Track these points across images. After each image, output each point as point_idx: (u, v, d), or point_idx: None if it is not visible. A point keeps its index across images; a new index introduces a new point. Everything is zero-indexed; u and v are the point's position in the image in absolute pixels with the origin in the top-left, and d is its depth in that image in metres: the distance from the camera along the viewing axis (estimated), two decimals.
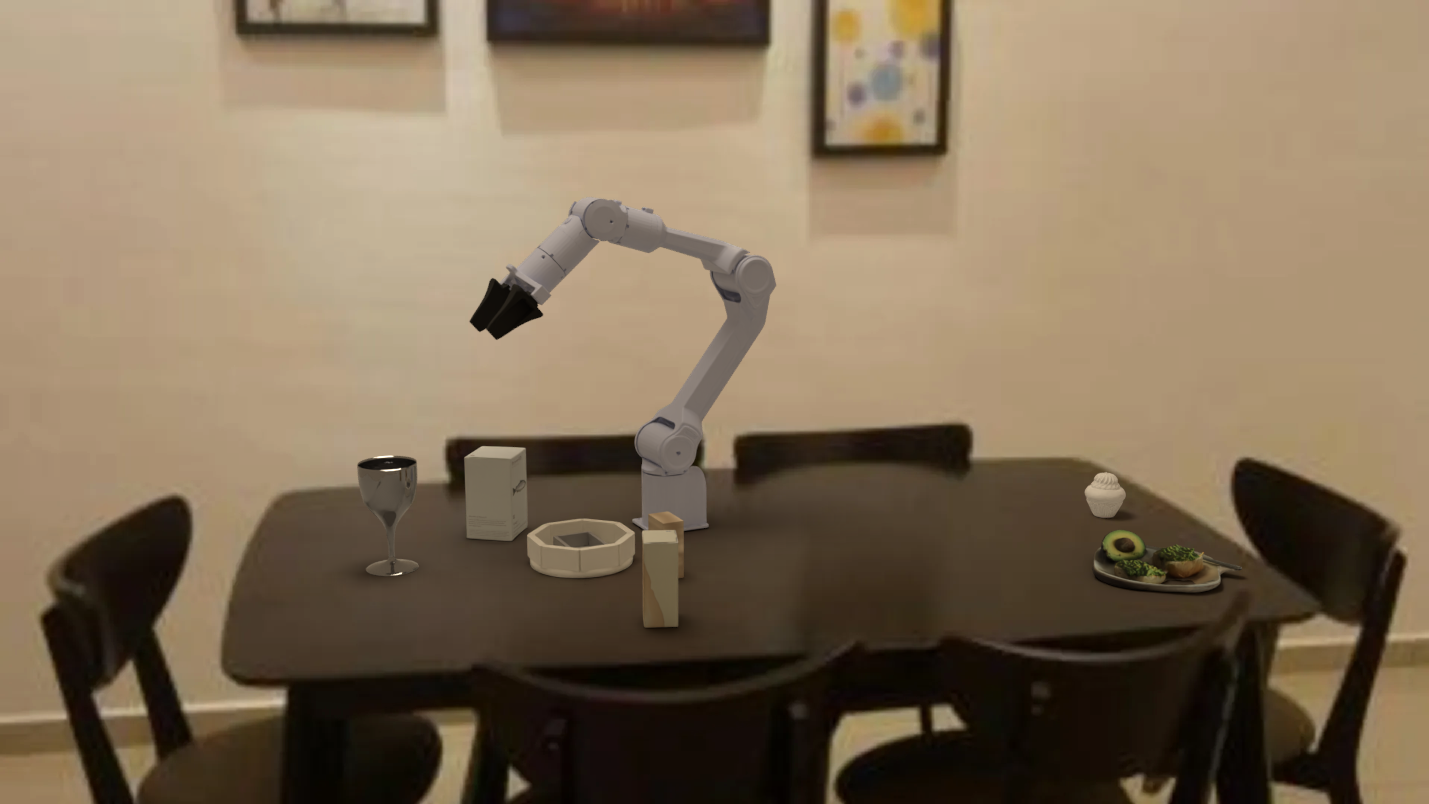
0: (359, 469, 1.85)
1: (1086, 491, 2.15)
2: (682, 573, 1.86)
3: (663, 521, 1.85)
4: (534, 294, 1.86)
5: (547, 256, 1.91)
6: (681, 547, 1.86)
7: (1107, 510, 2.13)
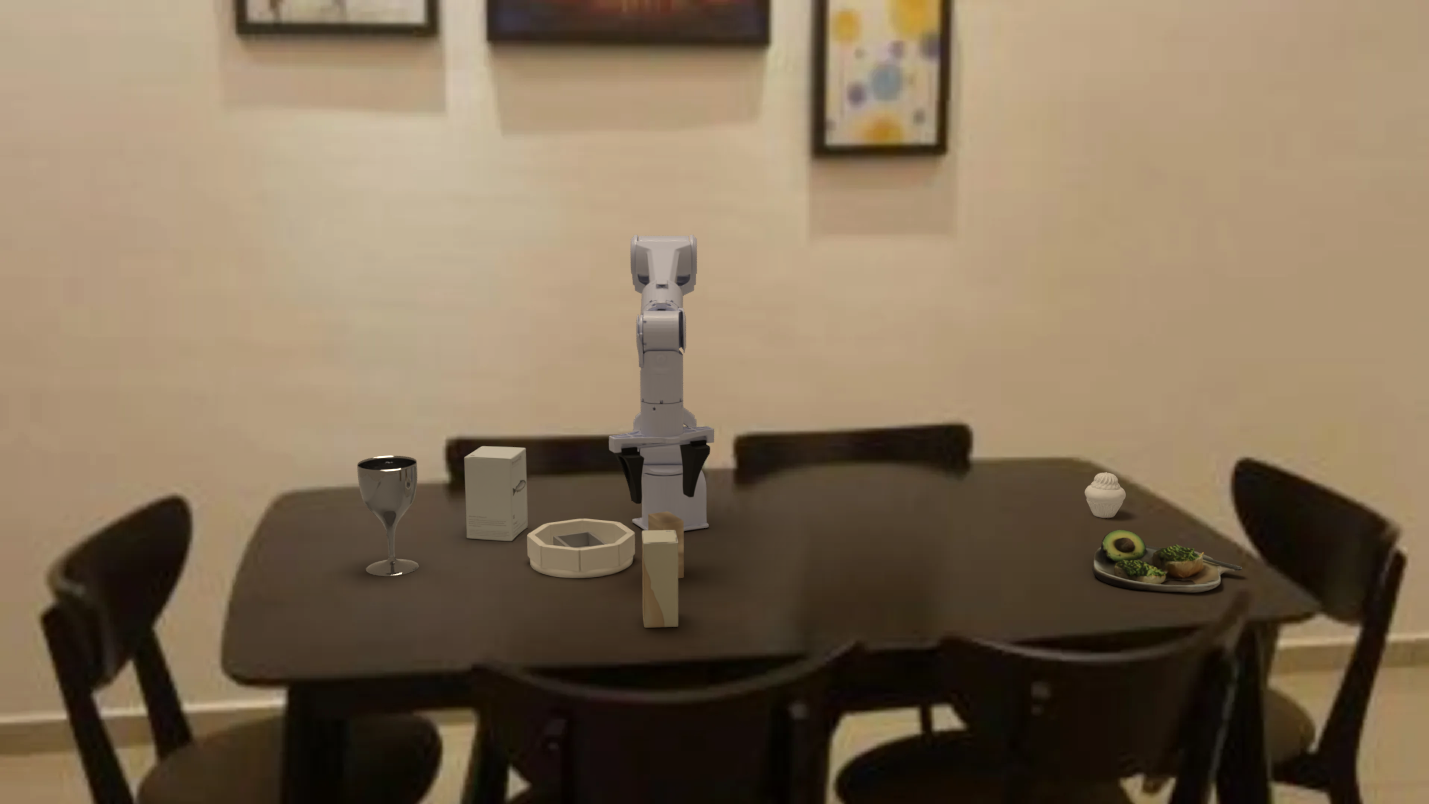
0: (359, 469, 1.85)
1: (1086, 491, 2.15)
2: (682, 573, 1.86)
3: (663, 521, 1.85)
4: (713, 440, 1.87)
5: (682, 402, 1.83)
6: (681, 547, 1.86)
7: (1107, 510, 2.13)
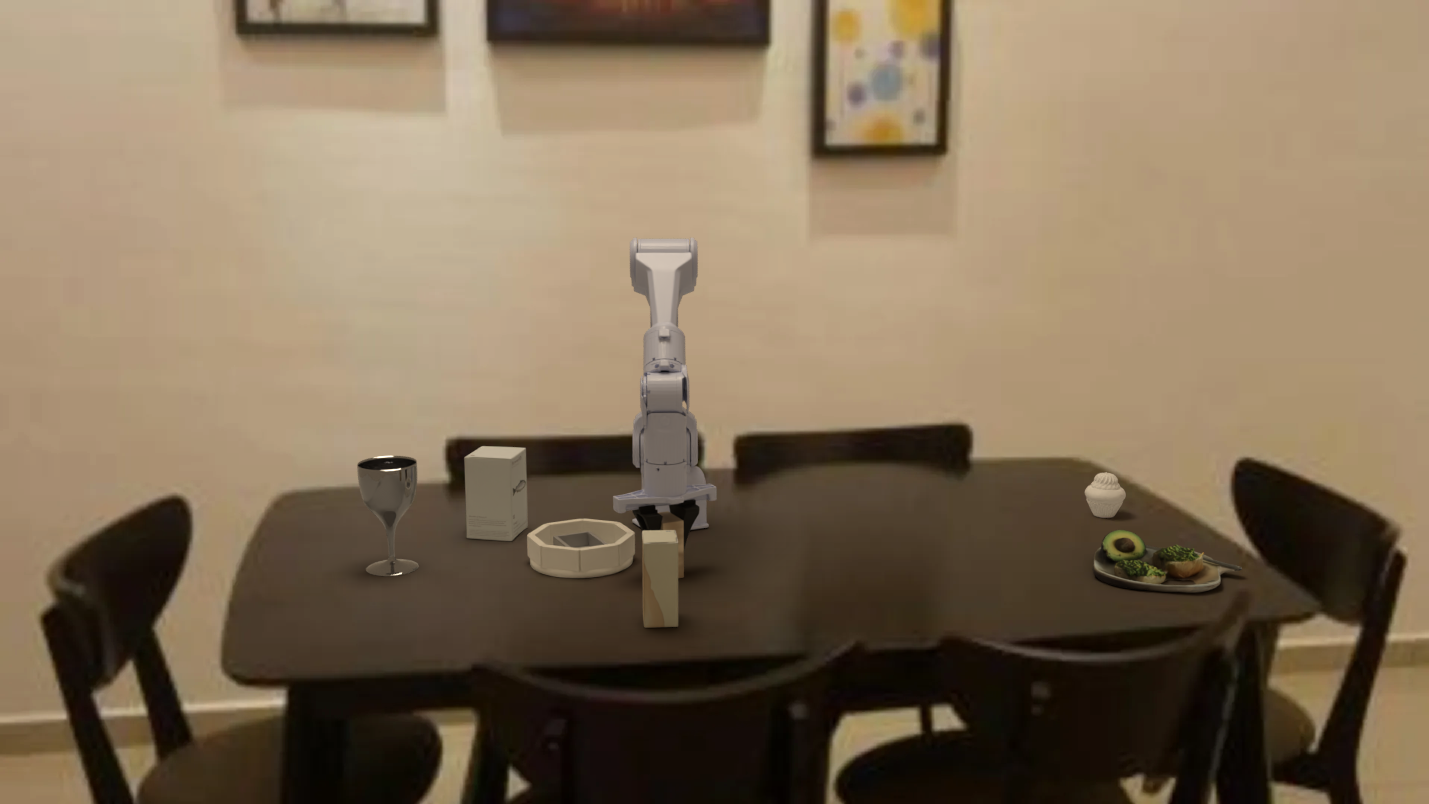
0: (359, 469, 1.85)
1: (1086, 491, 2.15)
2: (682, 573, 1.86)
3: (663, 521, 1.85)
4: None
5: (685, 462, 1.84)
6: (681, 547, 1.86)
7: (1107, 510, 2.13)
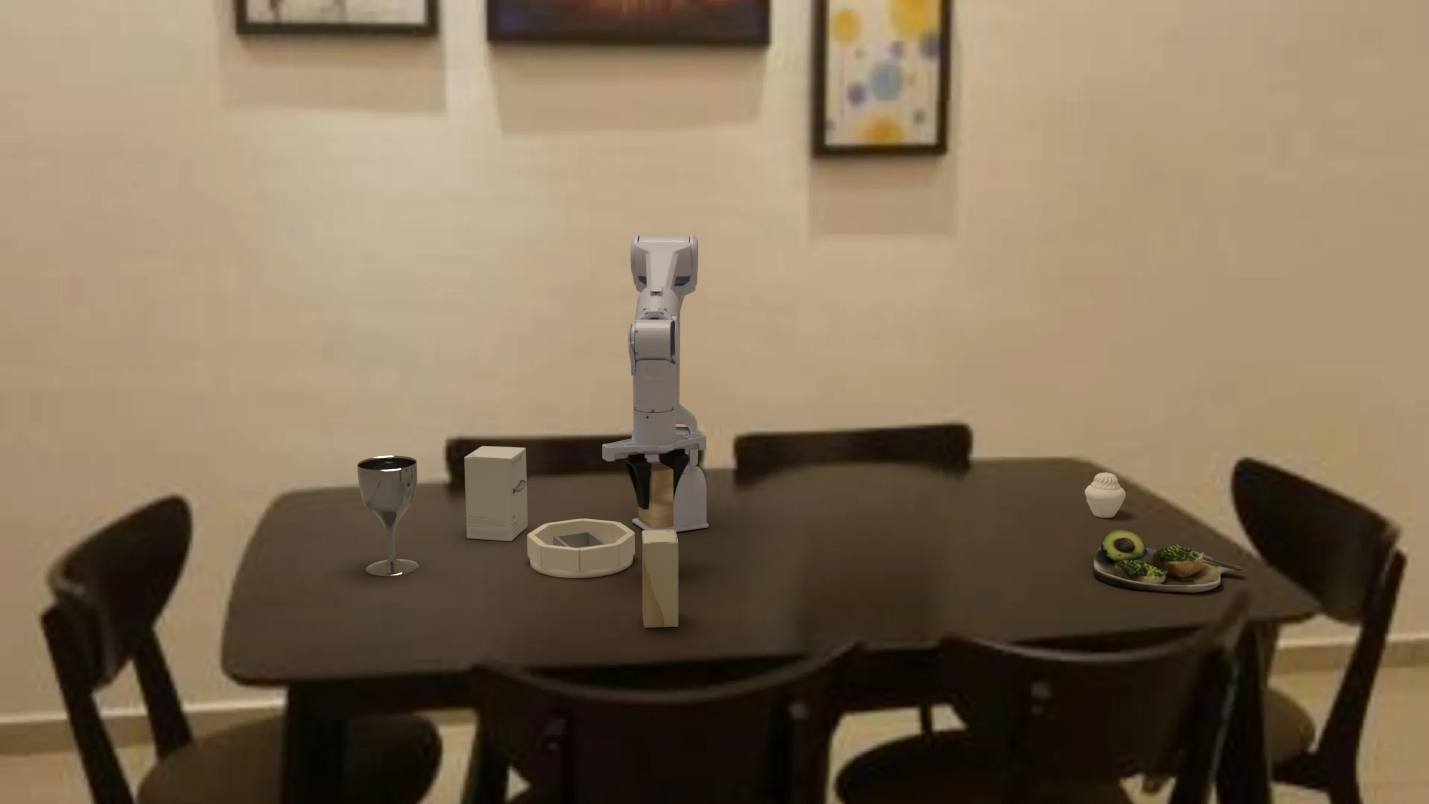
0: (359, 469, 1.85)
1: (1086, 491, 2.15)
2: (671, 522, 1.86)
3: (652, 470, 1.84)
4: (705, 447, 1.88)
5: (675, 410, 1.84)
6: (671, 496, 1.85)
7: (1107, 510, 2.13)
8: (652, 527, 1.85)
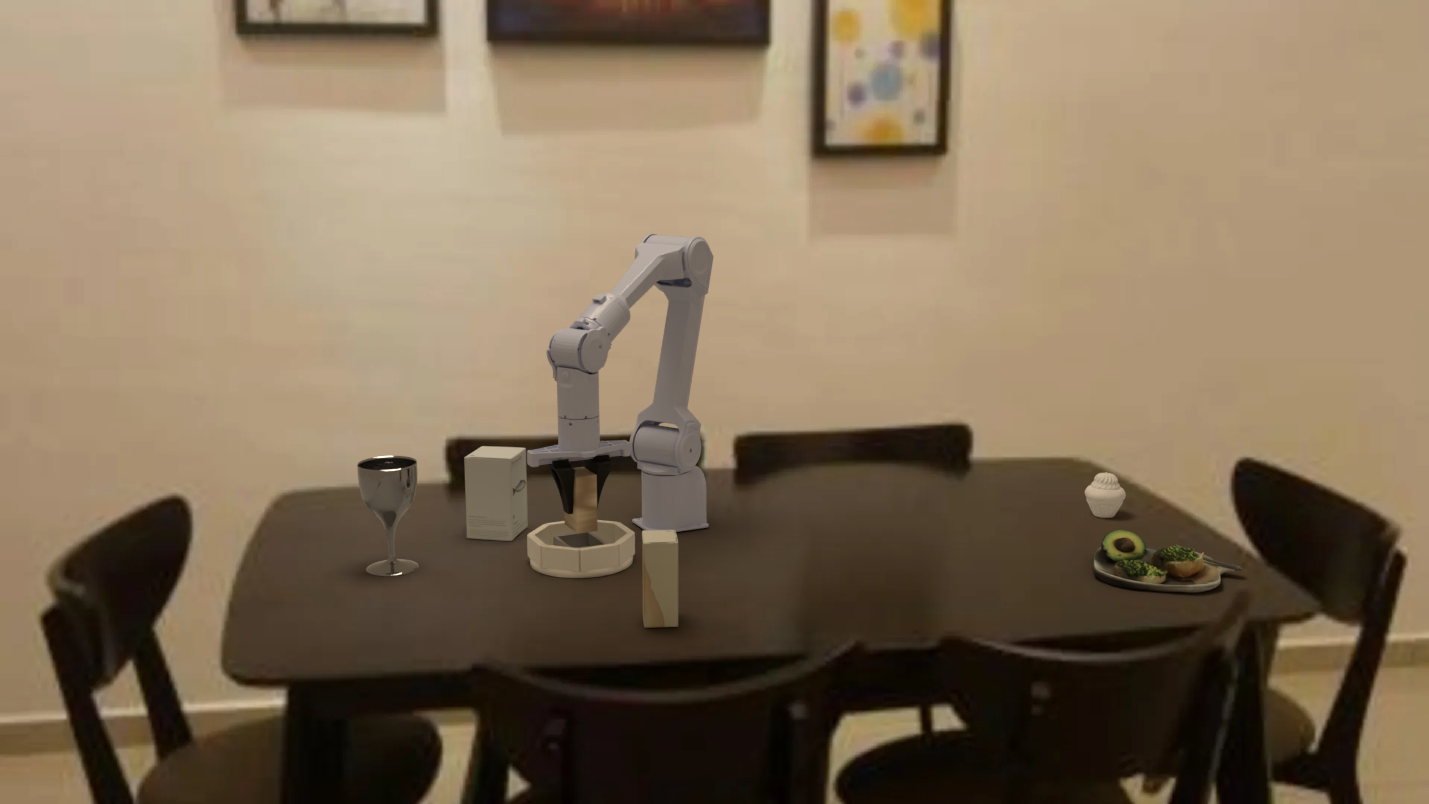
0: (359, 469, 1.85)
1: (1086, 491, 2.15)
2: (595, 526, 1.90)
3: (576, 475, 1.89)
4: (629, 453, 1.93)
5: (598, 417, 1.88)
6: (594, 501, 1.90)
7: (1107, 510, 2.13)
8: (576, 531, 1.89)
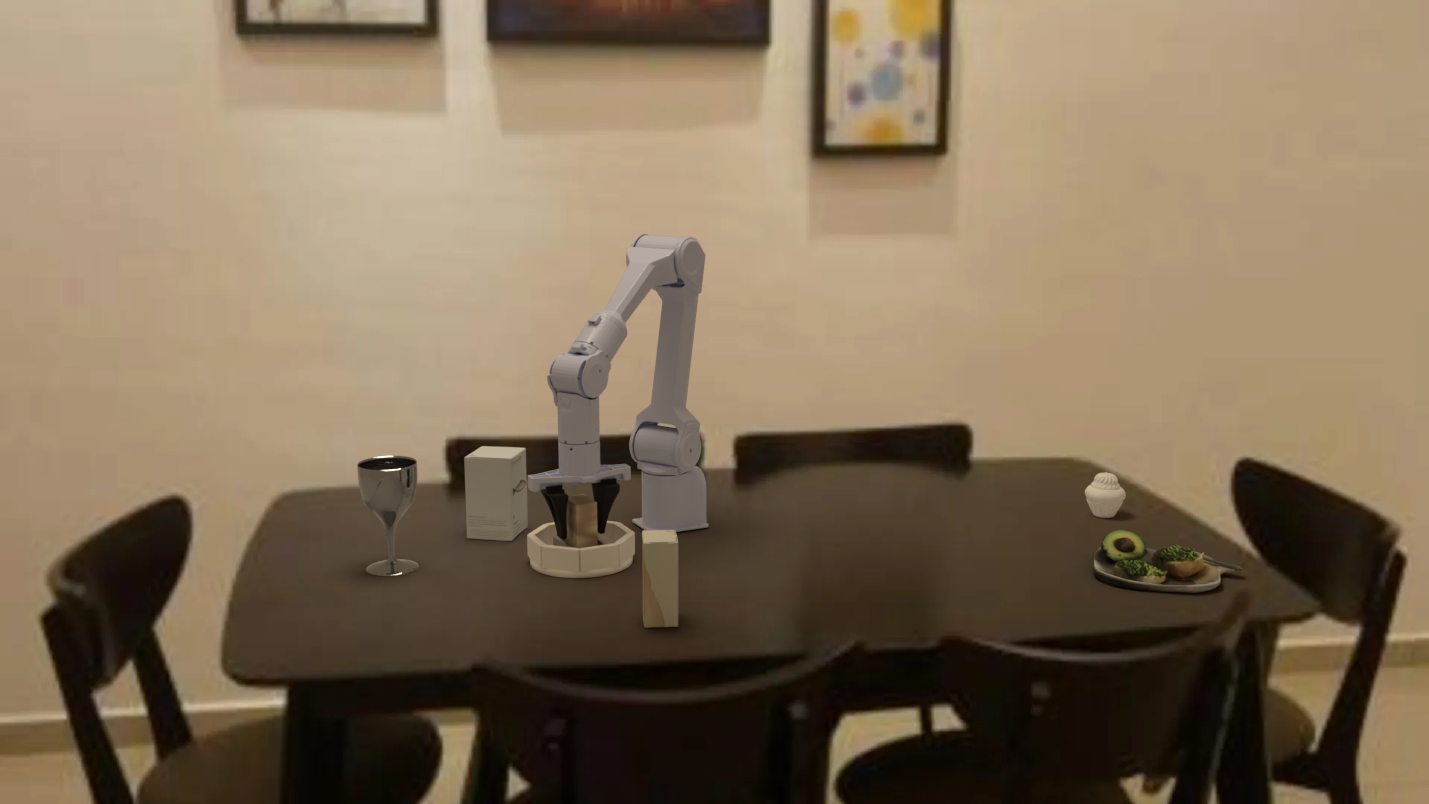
0: (359, 469, 1.85)
1: (1086, 491, 2.15)
2: None
3: (577, 503, 1.89)
4: (630, 477, 1.93)
5: (599, 442, 1.89)
6: (595, 528, 1.90)
7: (1107, 510, 2.13)
8: None
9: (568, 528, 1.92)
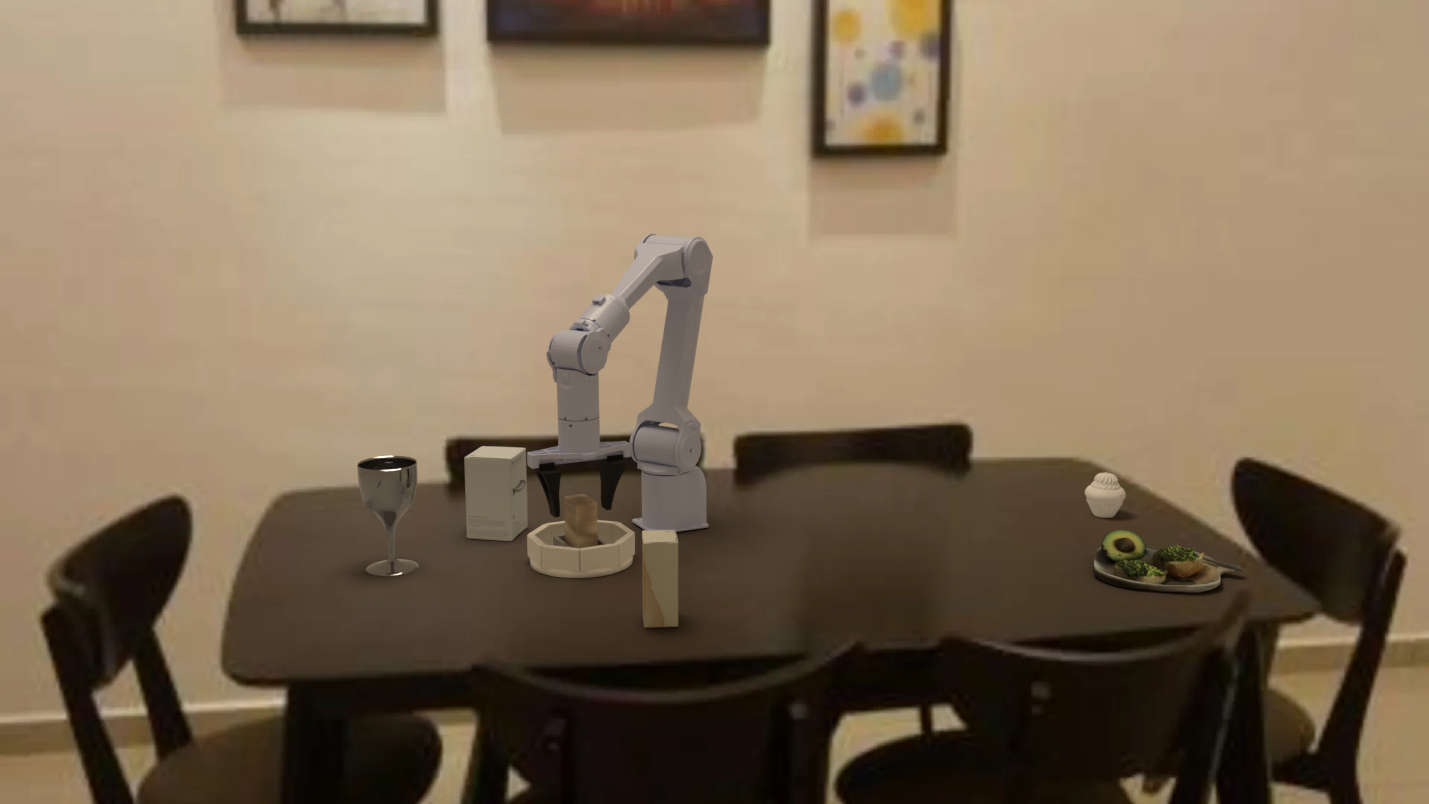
0: (359, 469, 1.85)
1: (1086, 491, 2.15)
2: None
3: (577, 503, 1.89)
4: (630, 454, 1.93)
5: (598, 419, 1.88)
6: (595, 528, 1.90)
7: (1107, 510, 2.13)
8: None
9: (568, 528, 1.92)
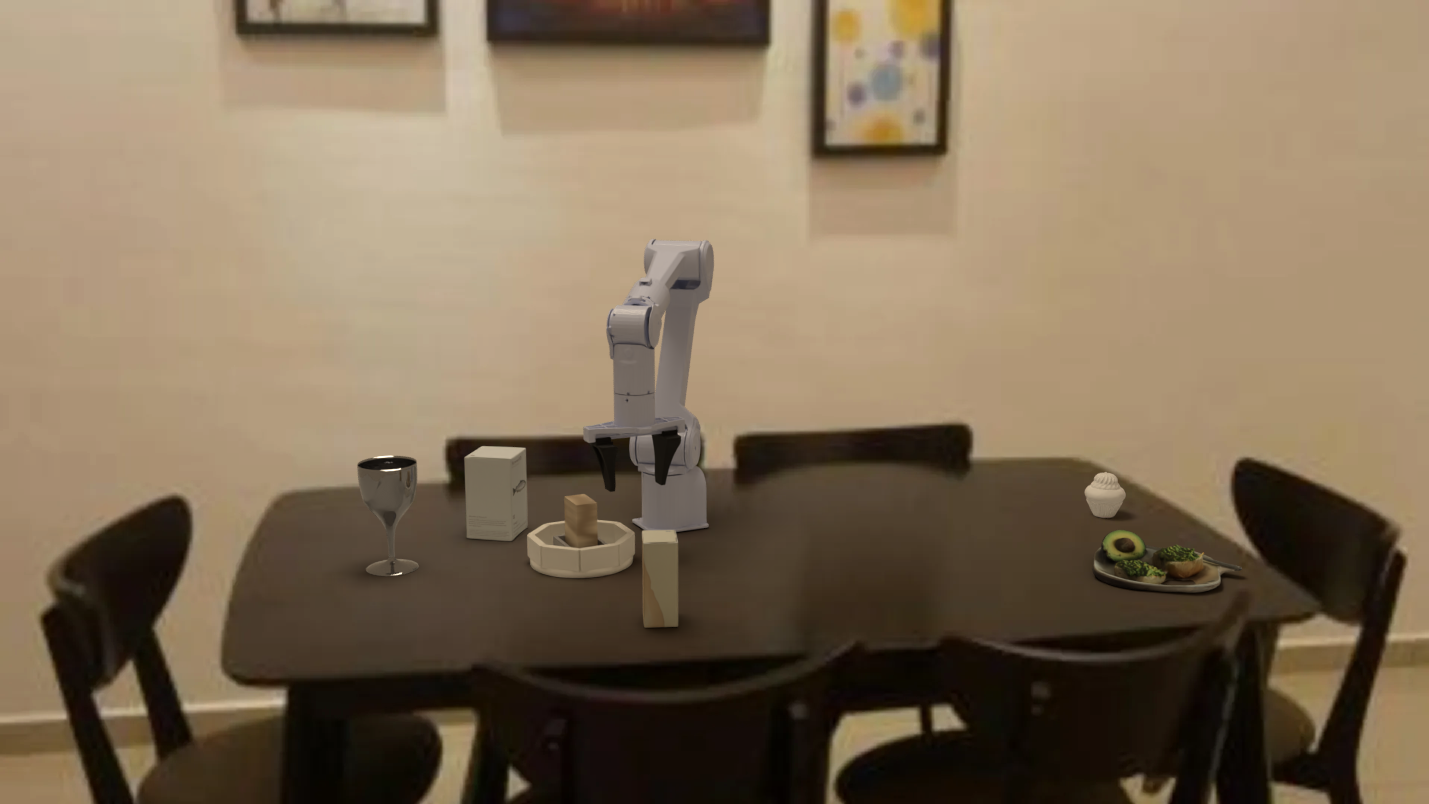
0: (359, 469, 1.85)
1: (1086, 491, 2.15)
2: None
3: (577, 503, 1.89)
4: None
5: (654, 394, 1.89)
6: (595, 528, 1.90)
7: (1107, 510, 2.13)
8: None
9: (568, 528, 1.92)
